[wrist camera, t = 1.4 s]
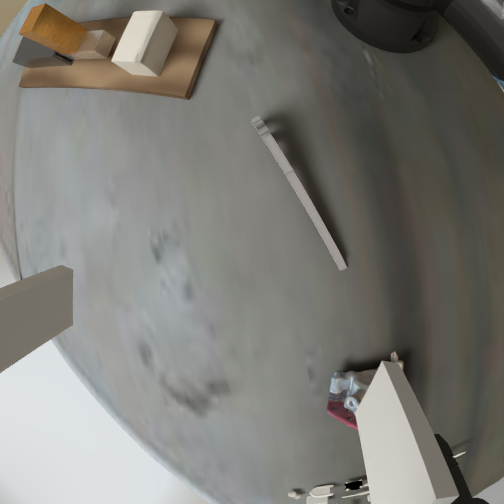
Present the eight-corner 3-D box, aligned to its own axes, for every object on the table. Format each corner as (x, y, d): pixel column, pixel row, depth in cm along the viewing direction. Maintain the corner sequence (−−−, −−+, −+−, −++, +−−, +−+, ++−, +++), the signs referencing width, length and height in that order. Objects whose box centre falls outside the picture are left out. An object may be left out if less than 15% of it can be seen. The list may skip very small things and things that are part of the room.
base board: (46, 31, 34) (42, 29, 33) (218, 24, 32) (215, 19, 30) (23, 87, 37) (18, 86, 35) (188, 99, 34) (184, 96, 33)
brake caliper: (323, 432, 38) (330, 444, 28) (322, 363, 43) (328, 352, 33) (396, 422, 37) (424, 429, 26) (392, 355, 42) (419, 341, 31)
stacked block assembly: (31, 46, 33) (-18, 27, 20) (116, 37, 31) (63, -2, 19) (23, 65, 34) (-28, 49, 21) (106, 60, 32) (48, 26, 19)
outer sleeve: (40, 44, 34) (23, 36, 29) (83, 38, 33) (65, 27, 28) (30, 68, 35) (12, 62, 30) (71, 65, 34) (52, 56, 29)
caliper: (253, 127, 35) (245, 113, 28) (261, 122, 34) (254, 108, 28) (339, 270, 36) (348, 285, 30) (347, 266, 36) (357, 280, 30)
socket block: (151, 28, 32) (134, 11, 26) (178, 29, 31) (163, 10, 26) (131, 74, 33) (111, 61, 28) (159, 76, 33) (140, 62, 28)
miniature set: (462, 437, 38) (454, 462, 41) (289, 481, 46) (303, 500, 50) (471, 461, 32) (461, 484, 35) (286, 507, 40) (302, 523, 44)
